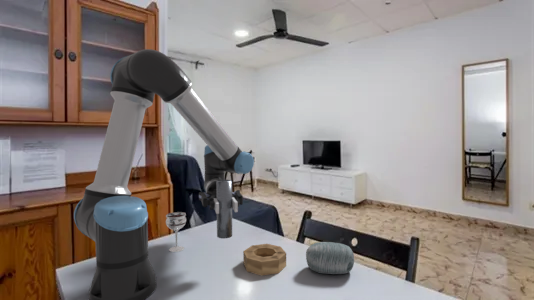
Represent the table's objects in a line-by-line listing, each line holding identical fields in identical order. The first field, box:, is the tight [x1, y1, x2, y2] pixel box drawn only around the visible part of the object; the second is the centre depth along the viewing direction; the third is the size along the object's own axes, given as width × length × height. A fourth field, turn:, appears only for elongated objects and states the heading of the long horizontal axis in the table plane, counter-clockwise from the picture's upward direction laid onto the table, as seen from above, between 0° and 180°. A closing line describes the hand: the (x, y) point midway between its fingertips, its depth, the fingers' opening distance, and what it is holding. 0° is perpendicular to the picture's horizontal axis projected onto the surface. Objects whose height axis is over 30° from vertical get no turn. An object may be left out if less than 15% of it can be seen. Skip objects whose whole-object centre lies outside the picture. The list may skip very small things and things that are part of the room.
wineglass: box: [165, 211, 187, 253], centre depth 98 cm, size 7×7×12 cm
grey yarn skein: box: [305, 241, 355, 275], centre depth 82 cm, size 14×10×10 cm
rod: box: [216, 179, 233, 239], centre depth 82 cm, size 4×4×16 cm
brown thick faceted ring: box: [243, 243, 287, 277], centre depth 86 cm, size 12×12×4 cm
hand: (227, 207), depth 77 cm, fingers closed on rod, 4 cm apart
